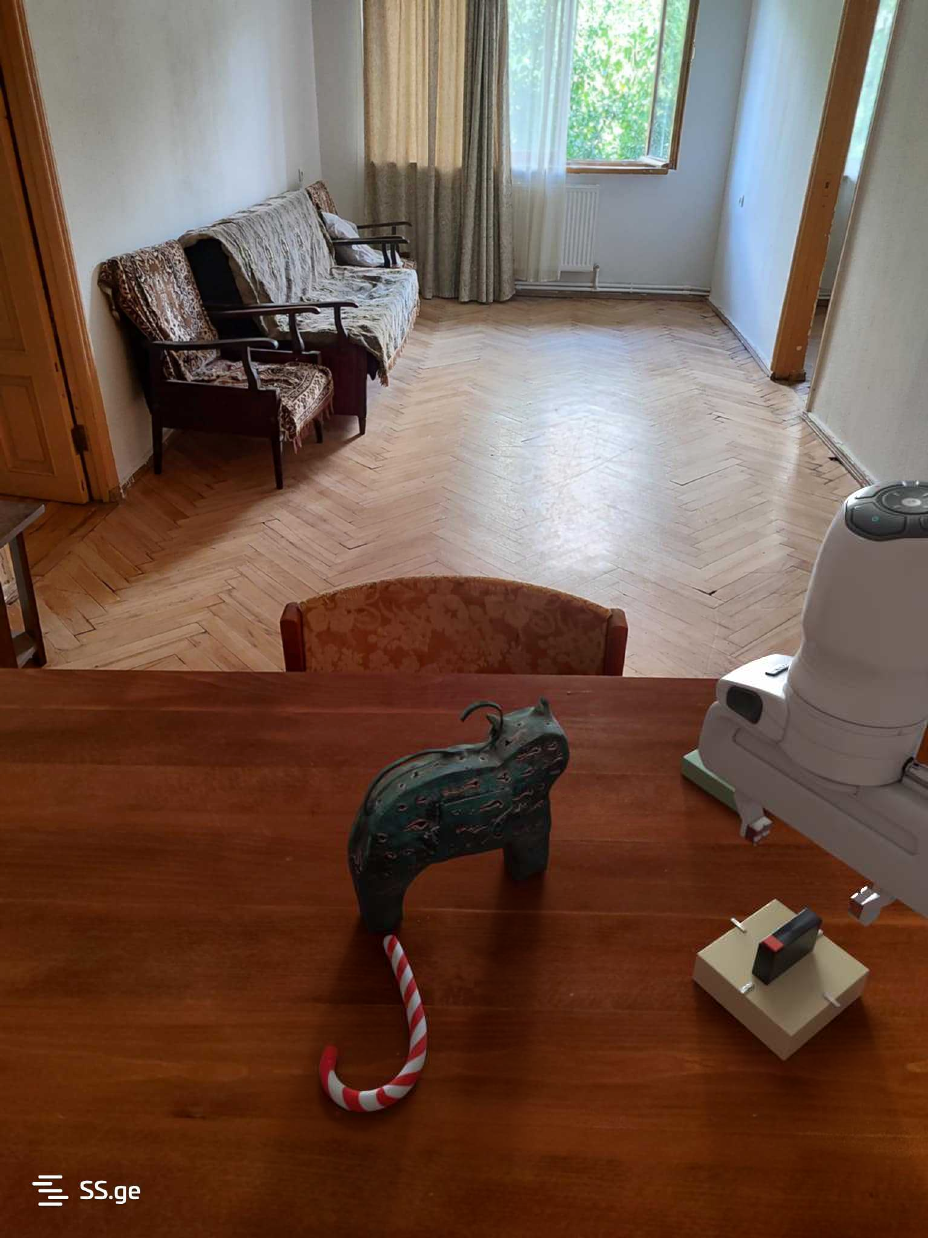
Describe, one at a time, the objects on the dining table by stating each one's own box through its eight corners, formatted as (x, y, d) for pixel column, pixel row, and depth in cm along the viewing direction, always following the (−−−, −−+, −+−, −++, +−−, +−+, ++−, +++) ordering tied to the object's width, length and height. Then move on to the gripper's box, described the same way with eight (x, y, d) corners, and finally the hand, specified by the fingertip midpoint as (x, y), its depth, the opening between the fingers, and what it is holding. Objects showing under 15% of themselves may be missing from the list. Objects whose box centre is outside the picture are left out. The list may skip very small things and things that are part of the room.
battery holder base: (764, 917, 78) (770, 892, 76) (868, 999, 71) (878, 973, 69) (685, 974, 73) (690, 948, 71) (789, 1068, 65) (797, 1042, 64)
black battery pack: (798, 937, 72) (807, 905, 70) (814, 950, 71) (823, 917, 69) (750, 973, 69) (759, 940, 67) (766, 986, 68) (775, 953, 66)
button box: (740, 740, 100) (746, 711, 98) (800, 777, 94) (808, 748, 92) (680, 773, 95) (685, 743, 93) (739, 814, 89) (746, 784, 87)
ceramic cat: (538, 836, 86) (550, 663, 76) (573, 881, 81) (591, 703, 71) (345, 901, 79) (330, 720, 69) (370, 956, 74) (358, 769, 64)
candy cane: (429, 931, 75) (424, 1104, 61) (429, 942, 75) (425, 1115, 62) (337, 932, 74) (313, 1105, 61) (338, 943, 75) (314, 1116, 62)
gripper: (1032, 791, 53) (964, 949, 60) (755, 645, 67) (725, 786, 74) (979, 834, 50) (913, 995, 57) (699, 670, 64) (673, 815, 71)
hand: (804, 875), depth 65 cm, fingers open, 8 cm apart
